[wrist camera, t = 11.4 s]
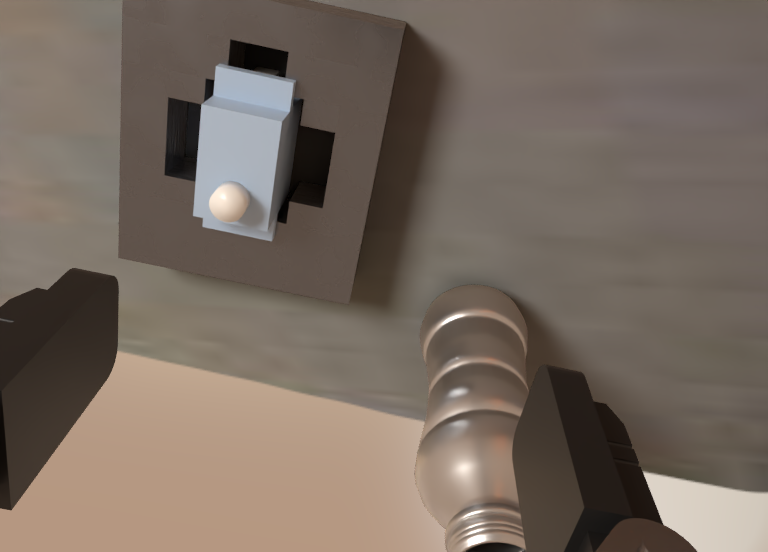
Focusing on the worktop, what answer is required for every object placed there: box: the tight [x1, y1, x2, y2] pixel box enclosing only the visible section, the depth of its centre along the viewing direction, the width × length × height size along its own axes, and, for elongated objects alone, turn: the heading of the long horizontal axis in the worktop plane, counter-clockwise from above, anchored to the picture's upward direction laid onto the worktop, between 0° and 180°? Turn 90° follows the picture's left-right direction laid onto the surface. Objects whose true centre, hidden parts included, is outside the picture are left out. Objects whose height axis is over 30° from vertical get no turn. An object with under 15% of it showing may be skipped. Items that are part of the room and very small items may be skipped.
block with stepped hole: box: [118, 0, 406, 305], centre depth 38 cm, size 16×14×4 cm
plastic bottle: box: [414, 285, 529, 552], centre depth 35 cm, size 6×7×20 cm
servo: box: [193, 64, 302, 241], centre depth 36 cm, size 9×4×7 cm, turn 169°
